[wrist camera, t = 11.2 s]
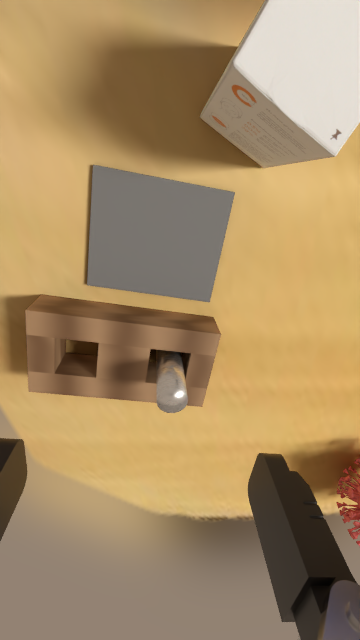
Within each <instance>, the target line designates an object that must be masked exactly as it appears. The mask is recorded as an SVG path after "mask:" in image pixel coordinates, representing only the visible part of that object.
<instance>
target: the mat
mask: <svg viewBox="0 0 360 640" xmlns="http://www.w3.org/2000/svg"><path fill="white" fill-rule="evenodd" d="M234 194H235V192H230V191H225V190H220V189H215V188H210V187H205V186H200V185H195V184H189V183H184V182H179V181H174V180H169V179H164V178H159V177H154V176H149V175H143V174H138V173H133V172H128V171H123V170H118V169H113V168H108V167H102V166H97V165H93V175H92V195H91V216H90V236H89V257H88V277H87V285H90V286H97V287H104V288H111V289H119V290H126V291H133V292H140V293H147V294H154V295H162V296H169V297H176V298H183V299H190V300H198V301H205V302H210V298H211V294H212V290H213V285H214V281H215V277H216V272H217V268H218V264H219V259H220V255H221V251H222V246H223V242H224V238H225V233H226V229H227V225H228V220H229V216H230V212H231V207H232V203H233V199H234Z"/></svg>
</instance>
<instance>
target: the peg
mask: <svg viewBox="0 0 360 640" xmlns="http://www.w3.org/2000/svg"><path fill="white" fill-rule="evenodd" d="M156 379H157V405H158V407H159V408H160V409H161V410H162V411H164V412H167V413H176V412H179V411H181V410H182V409H184V408H185V407H186V405H187V403H188V396H187V390H186V383H185V376H184V369H183V363H182V356H181V352H175V351H166V350H158V349H156Z"/></svg>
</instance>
